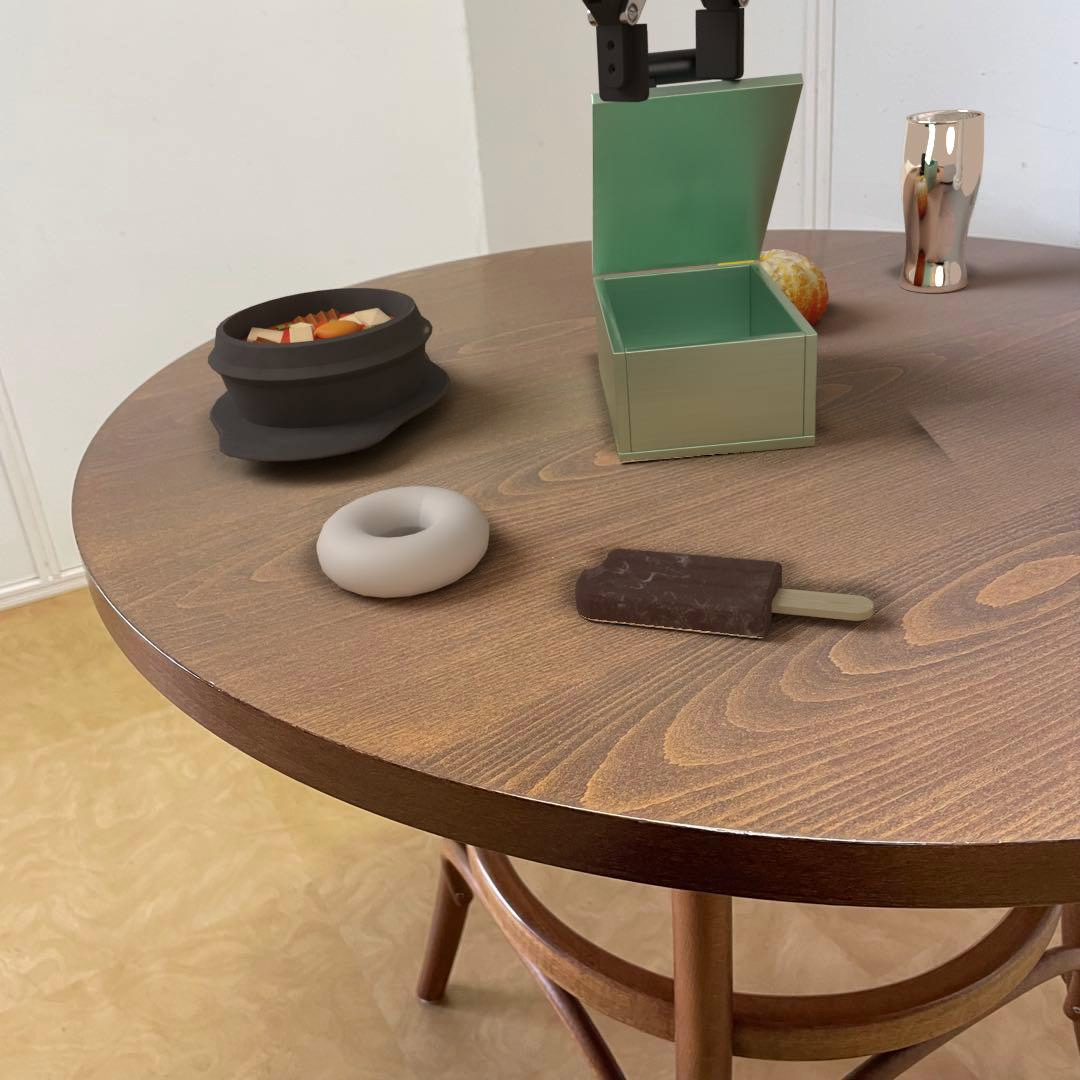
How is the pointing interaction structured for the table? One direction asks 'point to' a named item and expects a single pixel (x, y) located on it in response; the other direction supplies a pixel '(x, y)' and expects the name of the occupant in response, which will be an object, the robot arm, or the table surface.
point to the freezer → (704, 362)
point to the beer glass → (939, 196)
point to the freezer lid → (687, 168)
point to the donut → (403, 541)
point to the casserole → (321, 373)
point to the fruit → (796, 281)
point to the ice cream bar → (702, 593)
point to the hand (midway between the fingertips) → (674, 89)
